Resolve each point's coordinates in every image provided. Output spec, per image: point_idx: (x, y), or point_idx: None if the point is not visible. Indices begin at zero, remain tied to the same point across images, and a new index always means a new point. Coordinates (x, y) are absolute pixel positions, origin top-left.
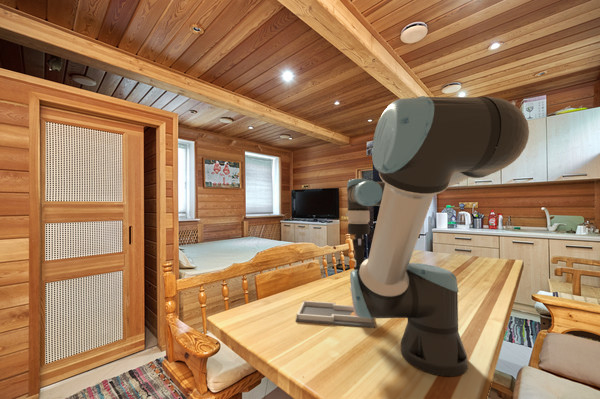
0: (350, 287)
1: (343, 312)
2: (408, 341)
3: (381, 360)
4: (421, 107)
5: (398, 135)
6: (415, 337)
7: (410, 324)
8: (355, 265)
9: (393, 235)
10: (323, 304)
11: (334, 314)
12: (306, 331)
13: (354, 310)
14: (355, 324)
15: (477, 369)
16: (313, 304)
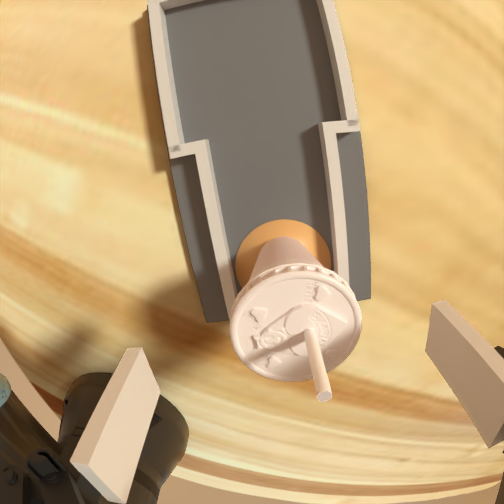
0: (282, 277)
1: (296, 181)
2: (70, 407)
3: (53, 328)
4: None
5: None
6: (61, 426)
7: (65, 440)
8: (490, 372)
9: None
10: (335, 68)
11: (204, 154)
12: (86, 81)
13: (264, 249)
14: (189, 252)
15: None
16: (323, 21)
